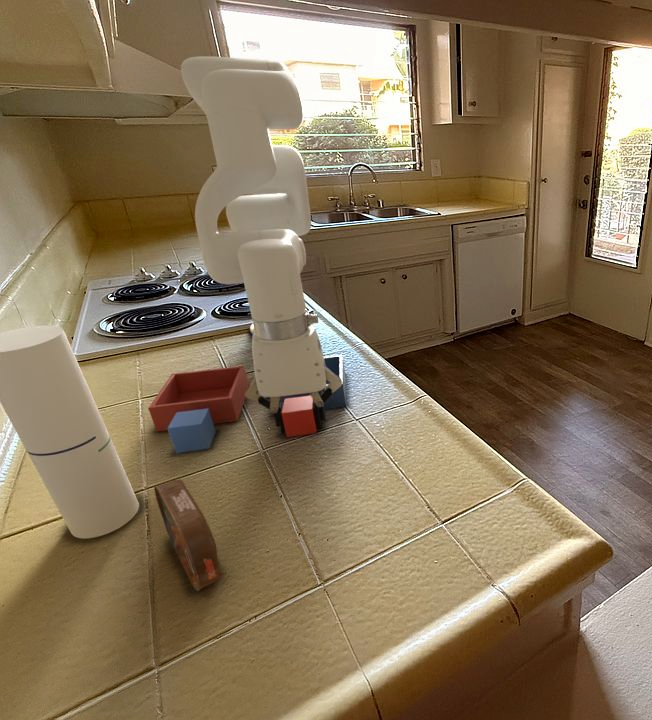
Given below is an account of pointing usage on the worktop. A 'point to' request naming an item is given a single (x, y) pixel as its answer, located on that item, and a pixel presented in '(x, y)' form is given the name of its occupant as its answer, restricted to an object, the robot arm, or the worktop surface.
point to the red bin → (201, 395)
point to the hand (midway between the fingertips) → (302, 425)
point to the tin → (189, 533)
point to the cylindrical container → (63, 430)
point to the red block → (299, 416)
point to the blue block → (191, 430)
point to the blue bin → (338, 369)
